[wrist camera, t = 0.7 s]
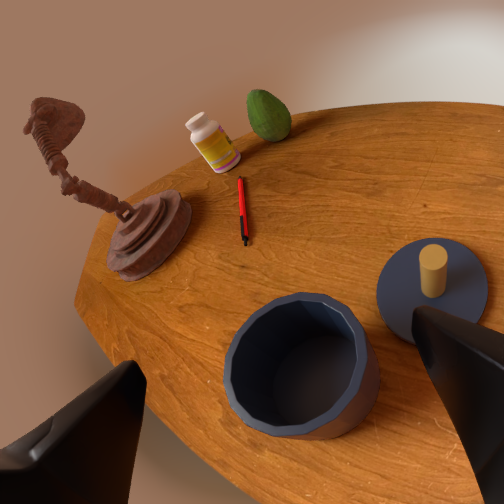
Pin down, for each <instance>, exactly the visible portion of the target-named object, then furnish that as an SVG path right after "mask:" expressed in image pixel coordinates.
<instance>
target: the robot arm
mask: <svg viewBox="0 0 504 504" xmlns="http://www.w3.org/2000/svg"><path fill="white" fill-rule="evenodd" d="M411 333H412V337H413V339H414V341H415V344H416V346H417V348H418V351H419V353H420V356H421V358H422V361H423V363H424V366H425V368H426V370H427V373H428V375H429V377H430V379H431V381H432V382H433V384H434V386H435V388H436V390H437V392H438V394H439V396H440V398H441V400H442V402H443V404H444V406H445V408H446V410H447V412H448V414H449V416H450V418H451V420H452V422H453V425H454V427H455V429H456V431H457V433H458V436H459V438H460V440H461V442H462V445H463V447H464V449H465V452H466V454H467V456H468V459H469V461H470V464H471V466H472V469H473V472H474V473H475V477H476V480H477V483H478V485H479V488H480V491H481V494H482V497H483V500H484V503H485V504H504V334H502V333H499V332H497V331H494V330H492V329H489V328H486V327H484V326H481V325H478V324H476V323H473V322H470V321H468V320H465V319H462V318H460V317H457V316H454V315H452V314H449V313H446V312H443V311H441V310H438V309H435V308H433V307H430V306H427V305H422V306H419V307H416V308H414V310H413V314H412V325H411ZM146 387H147V380H146V377H145V375H144V374H143V372H142V370H141V369H140V367H139V365H138V364H137V362H136V361H134V360H128V361H123V362H122V363H120V364H119V365H118V366H117V367H115V368H114V369H113V370H111V371H110V372H109V373H107V374H106V375H105V376H104V377H102V378H101V379H100V380H98V381H97V382H96V383H94V384H93V385H92V386H90V387H89V388H88V389H87V390H85V391H84V392H83V393H82V394H80V395H79V396H77V397H76V398H75V399H74V400H72V401H71V402H70V403H68V404H67V405H66V406H64V407H63V408H62V409H60V410H59V411H58V412H56V413H55V414H54V416H51V417H50V418H48V419H47V420H46V421H45V422H43V423H42V424H40V425H39V426H38V427H36V428H35V429H33V430H32V431H30V432H29V433H27V434H26V435H24V436H22V437H21V438H19V439H18V440H16V441H14V442H13V443H11V444H10V445H8V446H6V447H5V448H3V449H0V504H128V498H129V491H130V486H131V479H132V473H133V468H134V462H135V456H136V451H137V446H138V441H139V437H140V432H141V427H142V421H143V414H144V404H145V396H146Z"/></svg>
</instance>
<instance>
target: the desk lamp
mask: <svg viewBox="0 0 504 504" xmlns="http://www.w3.org/2000/svg"><path fill="white" fill-rule="evenodd" d="M84 121H85V114H84V112H83V110H82V109H80V108H79V107H78V106H77V105H75V104H74V103H70V102H66V101H62V100H58V99H54V98H47V97H40V98H36V99H35V100H34V101H32V103H31V105H30V118H29V119H28V123H27V124H26V125H25V127H24V128H23V133H24V134H25V135H27V134H29V133H32V135H33V137H34V139H35V141H36V142H37V145H38V147H39V150H40V151H41V153H42V155H43V157H44V159H45V161H46V164H47V165H48V168H49V171H50V172H51V174H52V175H58V176H59V177H60V179H61V181H62V184H61V188H62V190H61V192H62V194H63V195H65V196H66V195H67V194H68V195H69V196H70V195H72V194H73V197H74V199H75V200H77V201H78V202H81V203H87V204H89V205H92V206H95V207H97V208H100V209H103V210H105V211H106V212H108V213H112V212H114V214H115V215H116V217H117V218H118V219H119V220H120V221H119V222H118V224H117V227H116V230H115V232H114V234H113V236H112V239H111V243H110V248H109V251H108V254H107V260H106V262H107V265H108V268H109V269H110V270H112V271H114V272H115V271H117V272H119V275H120V278H122V279H123V280H125V281H136V280H138V279H140V278H142V277H144V276H146V275H148V274H149V273H151V272H152V271H153V270H154V269H156V268H157V267H158V266H160V265H161V264H162V263H163V262H164V261H165V260H166V258H167V257H168V256H169V255H170V254H171V253H172V252H173V251H174V250H175V248H176V247H177V245H178V244H179V242H180V241H181V240H182V238H183V237H184V235H185V233H186V231H187V228H188V226H189V224H190V221H191V216H192V209H191V206H190V204H189V203H187V202H186V201H183V200H182V199H181V195H180V193H179V192H178V191H176V190H174V189H171V190H165V191H163V192H160V193H158V194H156V195H152V196H149V197H147V198H145V199H144V200H142V201H141V202H138V203H136V204H135V205H133V206H131V205H130V204H129V203H128V202H125V201H123V202H121V201H120V202H118V198H117V197H115V196H113V195H112V194H109V193H107V192H104V191H103V190H101V189H99V188H96V187H94V186H92V185H91V184H89V183H87V182H86V181H84V180H82V181H80V182H78V181H79V179H78V177H76V176H74V177H73V178H72V177H71V176H70V174H68V172H67V171H66V168H67V166H68V161H67V159H66V157H65V156H63V154H62V153H61V151H62V150H63V149H64V148H66V147H67V146H68V145H69V144H70V143H71V141H72V140H73V139H74V138H75V136H76V135H77V134H78V133H79V131H80V129H81V128H82V126H83V124H84ZM77 182H78V183H77ZM127 209H128V211H127V212H126V213H125V214H124V215H122V214H123V213H124V212H125V211H126V210H127Z"/></svg>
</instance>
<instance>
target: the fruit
mask: <svg viewBox="0 0 504 504" xmlns="http://www.w3.org/2000/svg"><path fill="white" fill-rule="evenodd" d="M247 110H248V117H249V120H250V124H251V126H252V128H253V130H254V132H255V133H256V134H257V135H258V136H260V137H261V138H263V139H264V140H268V141H271V142H276V141H280V140H283V139H284V138H285V137H286V136H287V135H288V133H289V131H290V128H291V121H292V120H291V116H290V113H289V111H288V109H287V108H286V106H285V104H283V103H282V102H281V101H280V100H279V99H278V98H276V97H275V96H274V95H272V94H271V93H269V92H268V91H265V90H260V89H256V90H252V91H251V92H250V93H249V94H248V96H247Z"/></svg>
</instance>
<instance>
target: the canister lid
mask: <svg viewBox="0 0 504 504" xmlns="http://www.w3.org/2000/svg"><path fill="white" fill-rule="evenodd" d="M487 297H488V282H487V277H486V273H485V271H484V268H483V266H482V264H481V262H480V261H479V259H478V258H477V257H476V256H475V254H474V253H473V252H472V251H470V250H469V249H468V248H467V247H465V246H463V245H462V244H460V243H458V242H455V241H452V240H449V239H444V238H426V239H421V240H418V241H415V242H412V243H410V244H408V245H406V246H404V247H403V248H401V249H400V250H398V251H397V252H396V253H395V254H394V255H393V256H392V257H391V258H390V259H389V260H388V262H387V263H386V265H385V266H384V268H383V270H382V272H381V274H380V277H379V280H378V284H377V303H378V307H379V311H380V314H381V316H382V318H383V320H384V322H385V323H386V325H387V326H388V328H389V329H390V330H391V331H392V332H393V333H394V334H395V335H397V336H398V337H399V338H401V339H402V340H404V341H406V342H408V343H411V344H414V345H416V344H415V341H414V339H413V337H412V333H411V325H412V314H413V310H414V308H416V307H419V306H422V305H427V306H430V307H433V308H435V309H438V310H441V311H443V312H446V313H449V314H452V315H454V316H457V317H460V318H462V319H465V320H468V321H470V322H473V323H476V324H477V322H478V321H479V319H480V318H481V316H482V313H483V311H484V309H485V306H486V302H487Z"/></svg>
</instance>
